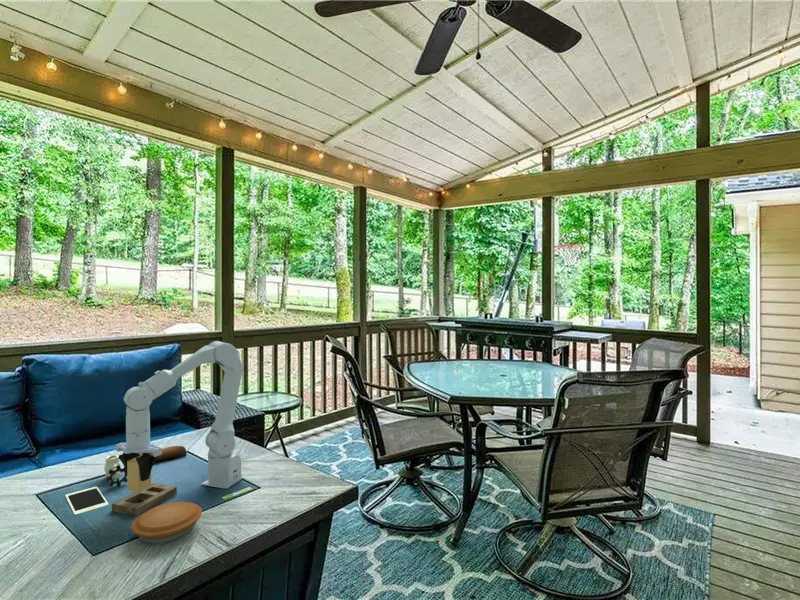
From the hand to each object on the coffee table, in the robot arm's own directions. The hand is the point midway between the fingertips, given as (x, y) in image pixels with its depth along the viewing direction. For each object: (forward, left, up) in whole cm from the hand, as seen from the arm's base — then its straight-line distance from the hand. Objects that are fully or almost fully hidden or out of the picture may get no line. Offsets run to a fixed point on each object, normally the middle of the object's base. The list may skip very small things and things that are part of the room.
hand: (138, 478), depth 119 cm
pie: (-19, +8, -8) cm, 22 cm away
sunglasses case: (+23, -27, -8) cm, 37 cm away
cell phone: (+17, +2, -8) cm, 19 cm away
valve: (+22, -10, -8) cm, 25 cm away
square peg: (0, 0, -2) cm, 3 cm away
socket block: (0, -2, -8) cm, 8 cm away
